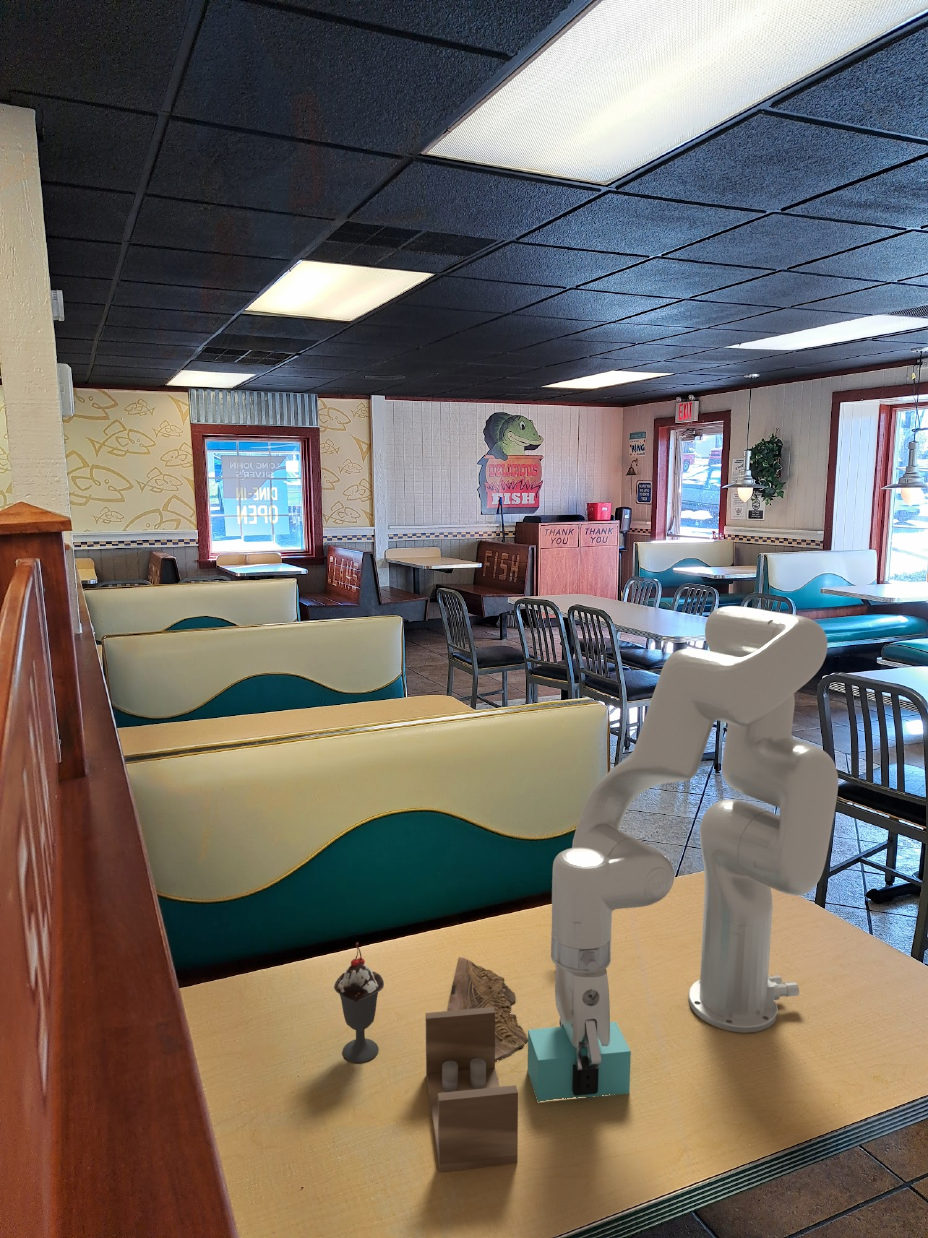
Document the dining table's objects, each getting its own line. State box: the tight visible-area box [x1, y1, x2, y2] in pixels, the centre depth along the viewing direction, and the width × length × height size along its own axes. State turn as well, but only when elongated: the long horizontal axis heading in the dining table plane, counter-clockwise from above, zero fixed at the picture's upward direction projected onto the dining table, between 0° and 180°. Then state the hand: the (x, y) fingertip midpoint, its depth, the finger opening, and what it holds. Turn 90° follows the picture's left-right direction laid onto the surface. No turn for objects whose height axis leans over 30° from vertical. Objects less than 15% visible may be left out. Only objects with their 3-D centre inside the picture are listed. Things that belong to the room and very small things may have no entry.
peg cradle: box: [425, 1007, 519, 1173], centre depth 103 cm, size 16×9×9 cm, turn 8°
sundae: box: [333, 941, 385, 1064], centre depth 115 cm, size 7×7×15 cm
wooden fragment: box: [446, 957, 528, 1063], centre depth 126 cm, size 26×11×1 cm, turn 8°
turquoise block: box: [527, 1021, 632, 1102], centre depth 109 cm, size 12×6×6 cm, turn 98°
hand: (577, 1073), depth 110 cm, fingers closed on turquoise block, 6 cm apart
